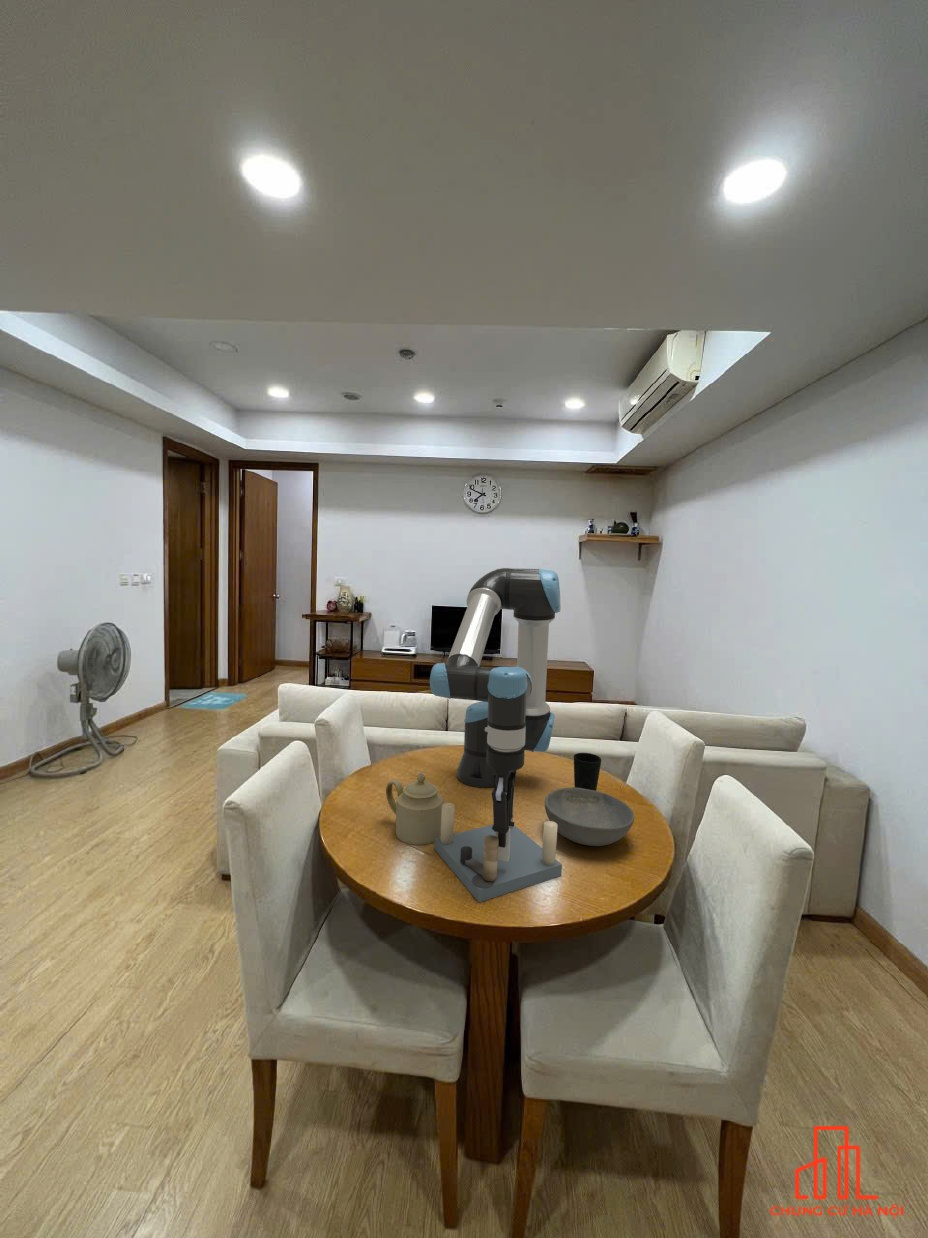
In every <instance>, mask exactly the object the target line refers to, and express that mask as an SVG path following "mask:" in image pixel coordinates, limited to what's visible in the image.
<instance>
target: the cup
mask: <svg viewBox="0 0 928 1238" xmlns="http://www.w3.org/2000/svg"><path fill="white" fill-rule="evenodd" d="M601 766H602V758H601V757H600V756H599V755H597V754H594V753H590V752H589V753H588V752H577V753H575V754H573V779H574V781H573V783H574V784H573V785H574V788H583V789H589V790H594V791H598V783H599V782H598V781H599V776H600V770H601Z"/></svg>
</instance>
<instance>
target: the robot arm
mask: <svg viewBox="0 0 928 1238" xmlns="http://www.w3.org/2000/svg"><path fill="white" fill-rule="evenodd" d="M560 589H561V588H560V580H559V576H558V574H557V572H556V571H554V570H550V569H549V570H548V569H542V568H511V567H501V568H496V569H494V570H492V571H490V572H488V573H486V574H484V575H483V576H481V577H480V578H479V579H478V580H477V581H476V582H475V583H474V584H473V585H472V587H471V588H470V590H469V592H468V595H467V597H466V606H467V607H466V610H465V612H464V615H463V618H462V621H461V623H460V626H459V628H458V631H457V634H456V636H455V639H454V642H453V644H452V647H451V650H450V652H449V656H448V657H447V661H446V663H445V662H437V663H435V664H434V665H433V666H432V668H431V670H430V676H429V688H430V691H431V693H432V695H434V696H435V697H440V698H444V699H445V698H446V699H449V700H450V699H456V700H468V701H476V702H474V703H472V704H470V705H468V706H467V707H466V709H465V717H464V735H463V736H464V738H463V753H462V756H461V758H460V761H459V763H458V767H457V769H456V771H457V772H456V773H457V774H456V778H457V779H458V781H459V782H461V783H462V784H465V785H468V786H470V787H474V788H475V787H476V788H494V789H493V790H491V798H492V809H493V810H492V813H493V814H492V815H493V824H494V825H493V824H492V825H493V827H492V830H494V832H496V837H498V839H499V844H498V860H501V861H507V862H508V861H509V858H510V827H509V826H512V827H514V825H515V821H513V822H511V819H512V817H513V818H514V807H513V800H514V801H515V786H516V785H515V783H516V779H517V771H519V770H520V769H522V768H523V767H524V765H525V751H528V752H531V753H534V752H536V753H537V752H539V753H544V752H546V751H548V750H549V747H550V742H551V739H552V732H553V727H554V724H555V723H554V721H555V717H556V716H555V715H556V714H555V713H553V712H552V711H551V707H550V705H549V704H548V703H547V702H546V696H547V695H546V692H547V691H546V690H547V675H548V674H547V672H548V671H547V670H548V653H549V651H548V650H549V628H550V624H551V623H552V622H553V621H554V620H555V619H556V614H558V613H560V612H561V607H562V606H561V590H560ZM501 610H508V611H509V610H511V611H512V610H513V618H514V619H515V620H516V621H517V622H518V627H517V629H518V631H517V633H518V634H517V654H516V655H517V657H516V661H517V662H516V666H497V667H489V666H488V667H486V666H481V662H482V659H483V656H484V652H485V648H486V644H487V641H488V638H489V635H490V633H491V629H492V625H493V621H494V618H495V616H496V615H498V613H499V612H500V611H501Z"/></svg>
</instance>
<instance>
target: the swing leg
mask: <svg viewBox="0 0 928 1238" xmlns="http://www.w3.org/2000/svg"><path fill="white" fill-rule="evenodd" d="M498 844H499V839H498V837H496V836H494V835H488V836H486V837H485V838H484V857H483V864H482V863H480V862H479V861H477V860H476V859H474V858H473V857H472V848H471V847H468V846H464V847H462V848H461V855H460V861H461V862H462V863H464V864H466V865H468V866H469V867H471V868H472V869H473V870H475V871H476V872H478V873H479V874H481V875H482V876H483V879H485V880H486V881H494V880H496V879H497V863H498Z"/></svg>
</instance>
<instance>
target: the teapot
mask: <svg viewBox="0 0 928 1238" xmlns="http://www.w3.org/2000/svg"><path fill="white" fill-rule="evenodd" d="M425 780H426V775H425V774H424V772H419V773H418V774H417V777H416V781H411V782H410V783H409V784H407V785H405V786H404V787H403V784H402V782H401V781H400V780H398V779H392V780H390V781H389V782H388V783H387V784H386V787H385V795H386V801H387V803H388V805H389V808H390V809H391V810H392V812H393V814H394V815H395V835H396V837H397V839H398V840H399V841H401V842H403V843H406V844H408V845H413V846H424V845H429V844H432V843H435V838H439V837H441V814H442V804H444V798H443V796H442V795H441V794H440V793H439V788H438V787H437V786H436V785H434V784H433V783H431V782H429V781H425ZM393 786H394V787H395V789H396V794H397V798H396V800H395V798H394V794H393Z"/></svg>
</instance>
